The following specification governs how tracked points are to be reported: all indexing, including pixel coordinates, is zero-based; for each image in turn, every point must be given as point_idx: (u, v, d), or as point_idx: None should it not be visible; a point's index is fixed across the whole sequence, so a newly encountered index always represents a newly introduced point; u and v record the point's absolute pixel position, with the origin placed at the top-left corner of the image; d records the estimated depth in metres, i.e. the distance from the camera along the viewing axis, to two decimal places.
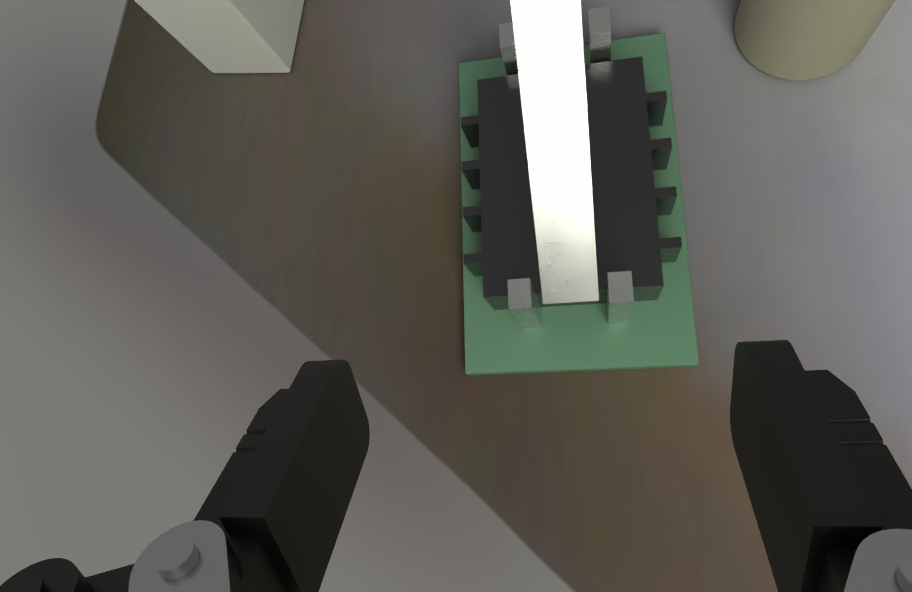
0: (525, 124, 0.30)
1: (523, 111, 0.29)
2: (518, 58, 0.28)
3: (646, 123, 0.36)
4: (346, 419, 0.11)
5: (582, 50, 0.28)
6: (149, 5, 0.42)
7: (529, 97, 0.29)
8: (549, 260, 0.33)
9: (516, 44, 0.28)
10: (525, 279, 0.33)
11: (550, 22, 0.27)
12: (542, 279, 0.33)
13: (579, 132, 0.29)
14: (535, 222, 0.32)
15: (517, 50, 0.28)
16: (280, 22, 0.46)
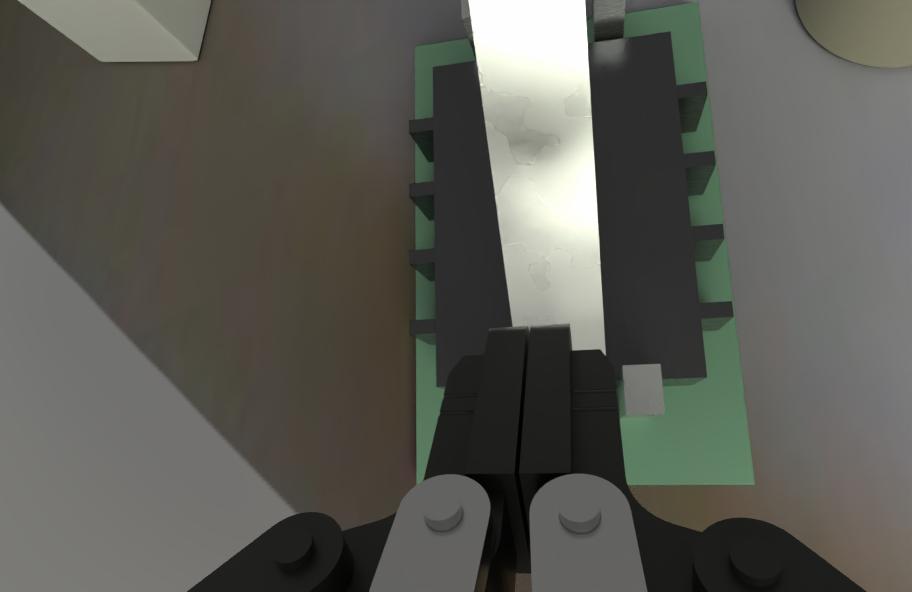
0: (489, 133, 0.18)
1: (485, 112, 0.18)
2: (474, 22, 0.17)
3: (677, 129, 0.24)
4: None
5: (583, 6, 0.16)
6: None
7: (494, 88, 0.17)
8: None
9: None
10: None
11: None
12: None
13: (578, 146, 0.18)
14: (509, 287, 0.20)
15: (472, 7, 0.17)
16: None
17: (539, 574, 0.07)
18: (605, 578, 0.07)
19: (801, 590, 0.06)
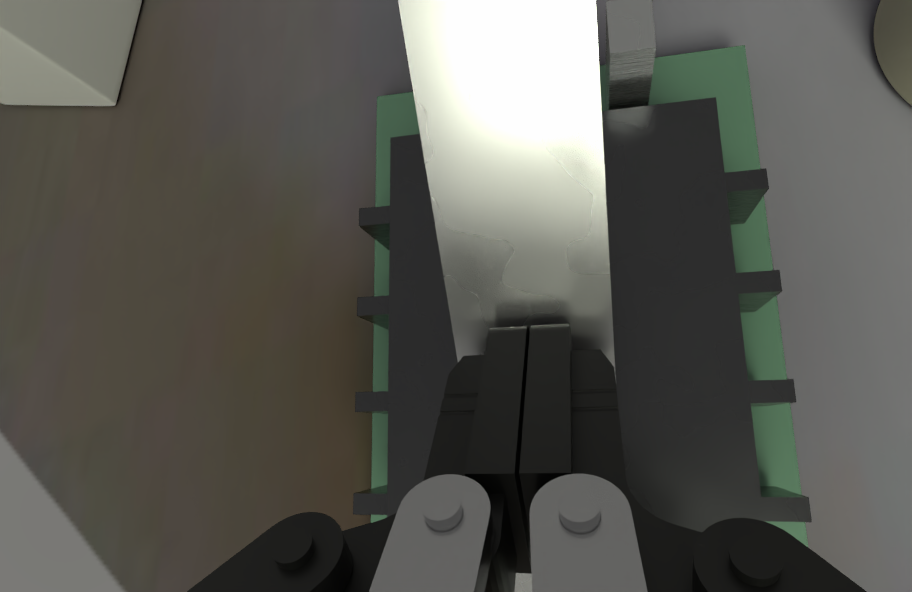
0: (450, 290, 0.12)
1: (443, 259, 0.11)
2: (423, 127, 0.10)
3: (727, 240, 0.17)
4: None
5: (598, 109, 0.10)
6: None
7: (457, 226, 0.11)
8: (517, 575, 0.14)
9: (416, 90, 0.10)
10: None
11: (508, 30, 0.10)
12: None
13: (588, 316, 0.11)
14: None
15: (420, 105, 0.10)
16: (87, 24, 0.28)
17: (539, 574, 0.07)
18: (605, 578, 0.07)
19: (801, 590, 0.06)
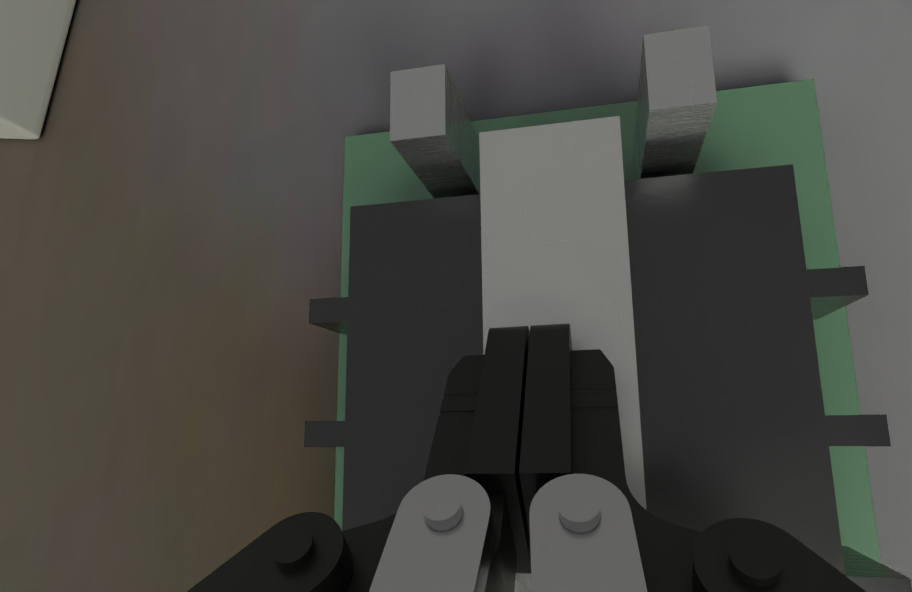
0: None
1: None
2: (485, 248, 0.13)
3: (812, 371, 0.12)
4: None
5: (625, 241, 0.12)
6: None
7: None
8: None
9: (483, 221, 0.13)
10: None
11: (558, 184, 0.13)
12: None
13: None
14: None
15: (485, 233, 0.13)
16: None
17: (539, 574, 0.07)
18: (605, 578, 0.07)
19: (801, 590, 0.06)
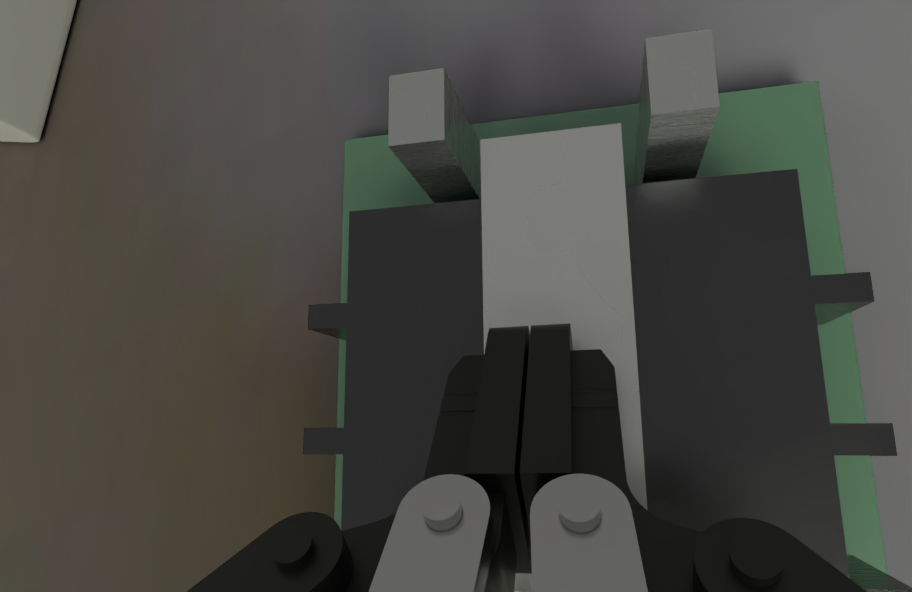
0: None
1: None
2: (486, 256, 0.13)
3: (817, 379, 0.12)
4: None
5: (627, 248, 0.12)
6: None
7: None
8: None
9: (484, 228, 0.13)
10: None
11: (559, 191, 0.13)
12: None
13: None
14: None
15: (486, 240, 0.13)
16: None
17: (539, 574, 0.07)
18: (606, 578, 0.07)
19: (801, 590, 0.06)
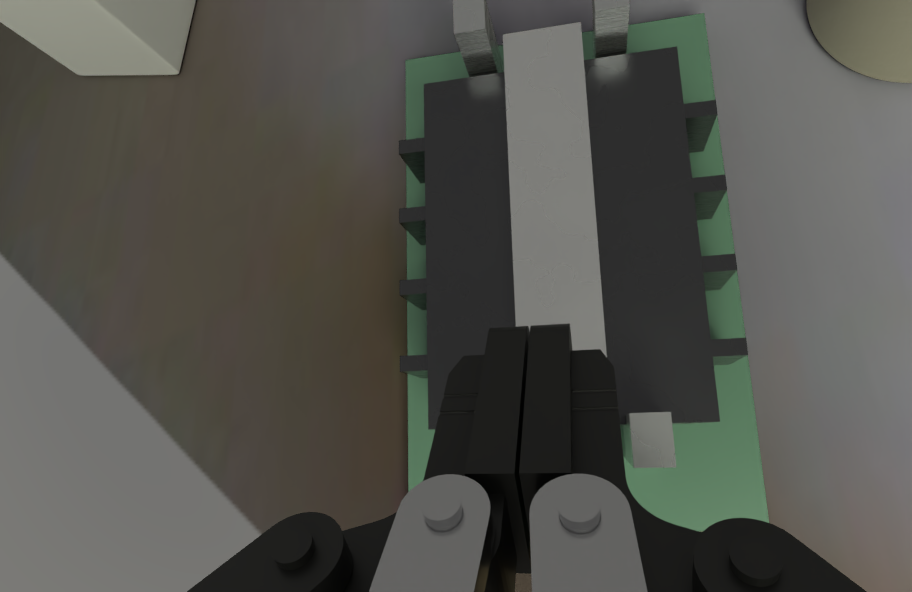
0: (510, 169, 0.23)
1: (509, 153, 0.23)
2: (507, 95, 0.24)
3: (685, 152, 0.23)
4: None
5: (584, 86, 0.23)
6: None
7: (518, 137, 0.23)
8: None
9: (506, 81, 0.24)
10: None
11: (547, 59, 0.24)
12: None
13: (580, 178, 0.22)
14: (516, 301, 0.22)
15: (507, 87, 0.24)
16: (159, 4, 0.33)
17: (539, 574, 0.07)
18: (605, 578, 0.07)
19: (801, 590, 0.06)
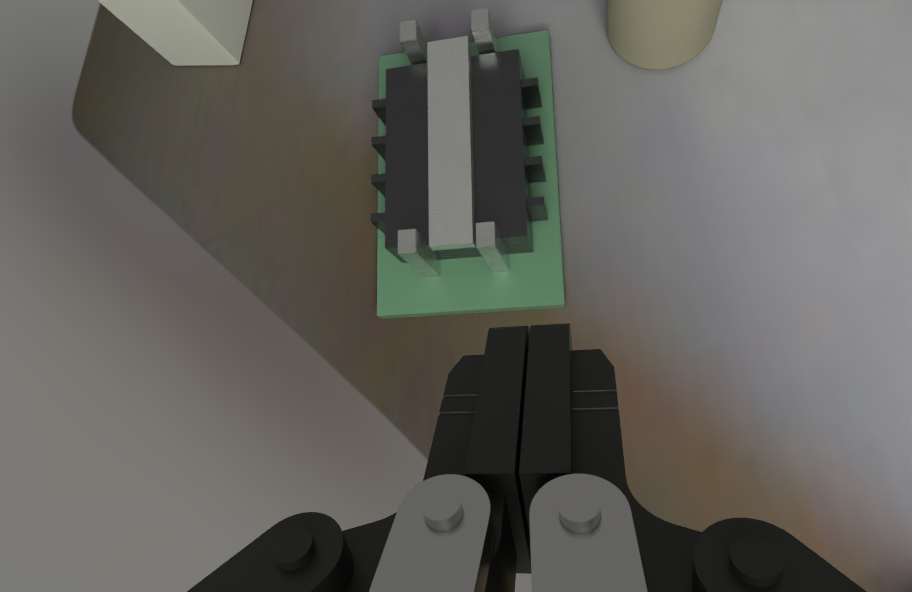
0: (429, 113, 0.44)
1: (428, 105, 0.44)
2: (428, 74, 0.44)
3: (519, 104, 0.43)
4: None
5: (467, 69, 0.44)
6: (113, 6, 0.49)
7: (433, 96, 0.44)
8: (436, 208, 0.42)
9: (428, 67, 0.45)
10: (411, 229, 0.40)
11: (450, 55, 0.44)
12: (430, 224, 0.42)
13: (463, 117, 0.43)
14: (429, 179, 0.43)
15: (428, 70, 0.44)
16: (229, 21, 0.54)
17: (539, 574, 0.07)
18: (605, 578, 0.07)
19: (801, 590, 0.06)
